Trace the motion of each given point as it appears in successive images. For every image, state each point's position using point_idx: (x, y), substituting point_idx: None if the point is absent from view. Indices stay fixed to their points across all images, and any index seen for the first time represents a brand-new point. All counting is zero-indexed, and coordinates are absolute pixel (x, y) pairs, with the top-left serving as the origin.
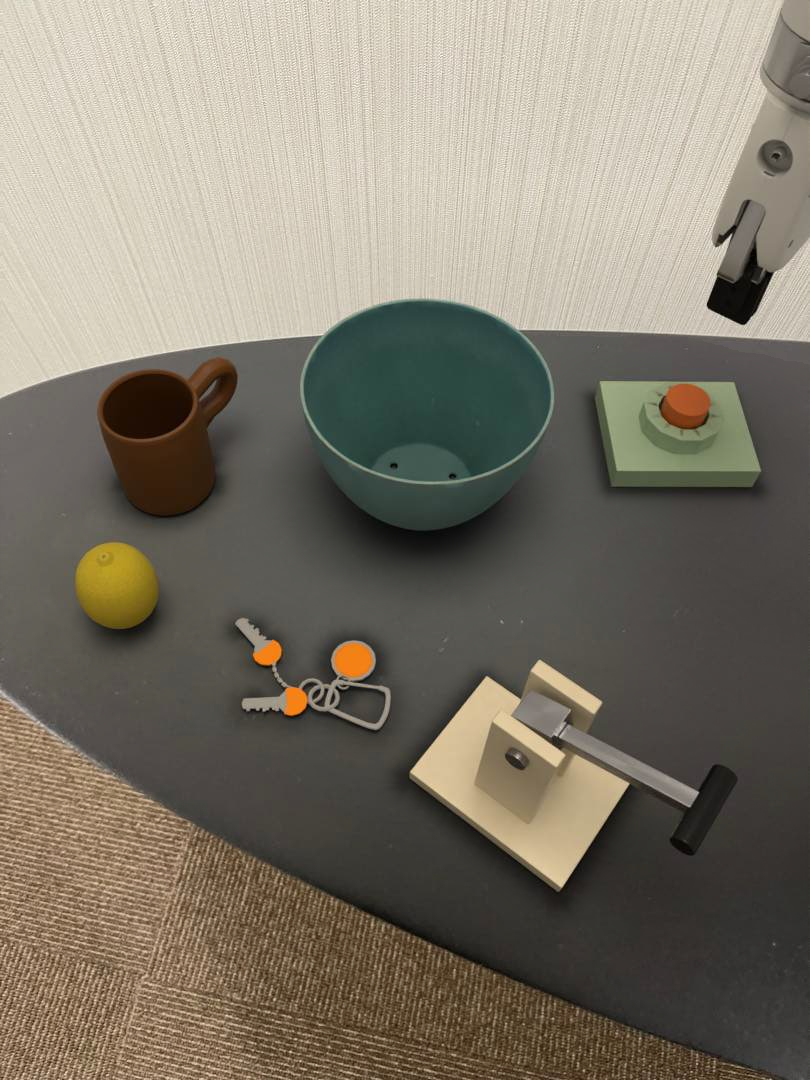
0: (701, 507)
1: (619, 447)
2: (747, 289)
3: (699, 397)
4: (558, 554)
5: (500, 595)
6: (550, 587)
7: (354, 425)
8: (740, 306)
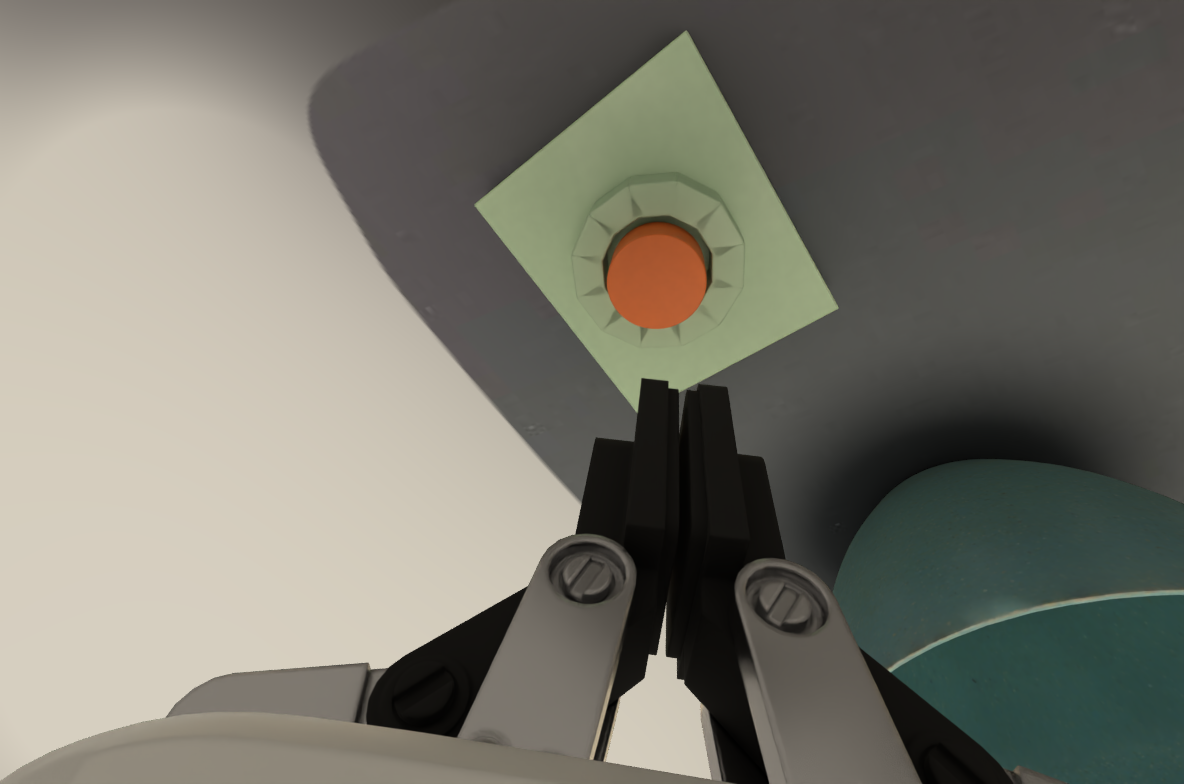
0: (796, 111)
1: (778, 327)
2: (766, 544)
3: (637, 266)
4: (1027, 302)
5: (1156, 346)
6: (1115, 283)
7: (948, 650)
8: (749, 473)
